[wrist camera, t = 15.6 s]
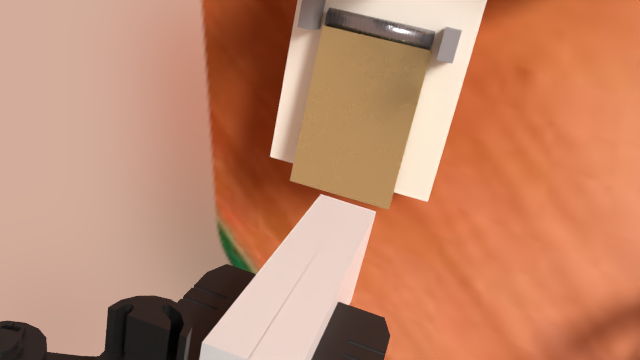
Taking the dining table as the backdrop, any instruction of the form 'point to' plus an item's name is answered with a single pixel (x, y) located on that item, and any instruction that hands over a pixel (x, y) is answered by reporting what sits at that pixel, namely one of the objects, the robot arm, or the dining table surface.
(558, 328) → the dining table surface
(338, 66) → the brass flap
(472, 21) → the socket block
